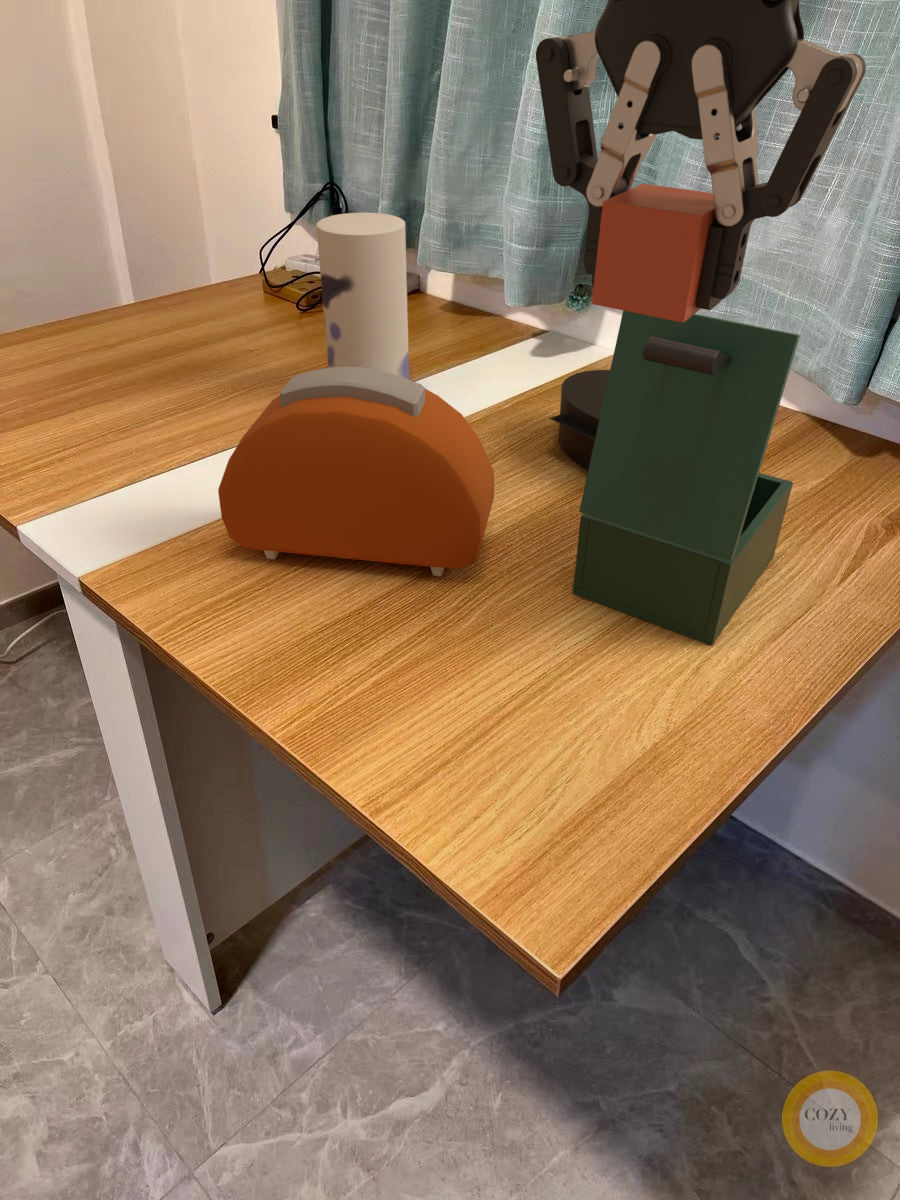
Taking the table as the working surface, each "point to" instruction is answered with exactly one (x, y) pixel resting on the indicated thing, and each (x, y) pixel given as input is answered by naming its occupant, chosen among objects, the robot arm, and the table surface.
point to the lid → (686, 427)
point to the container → (365, 291)
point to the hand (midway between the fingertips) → (656, 293)
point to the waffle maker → (581, 414)
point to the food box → (679, 568)
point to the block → (653, 251)
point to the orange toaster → (360, 474)
